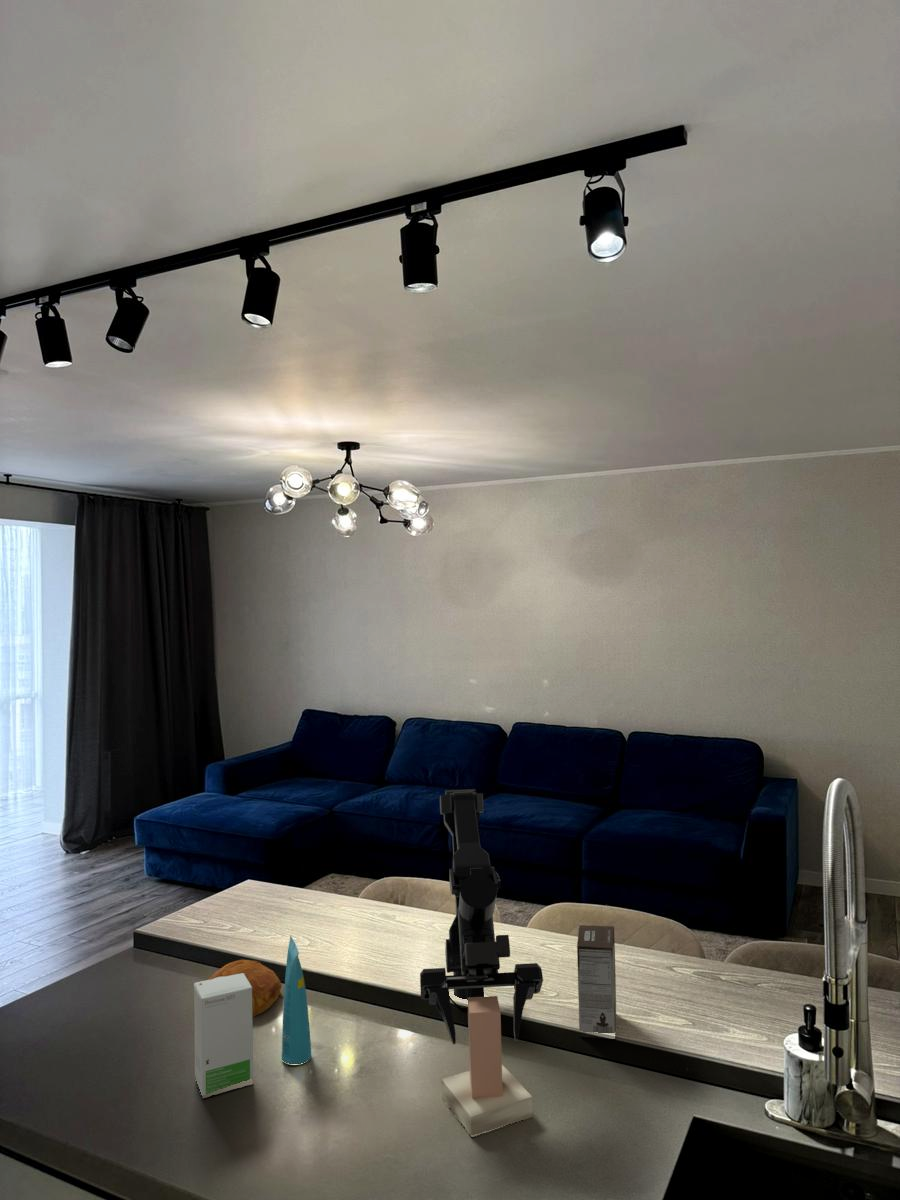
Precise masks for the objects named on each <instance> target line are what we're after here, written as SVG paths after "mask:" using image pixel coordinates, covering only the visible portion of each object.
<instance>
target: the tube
mask: <svg viewBox="0 0 900 1200" xmlns="http://www.w3.org/2000/svg"><path fill="white" fill-rule="evenodd" d="M299 954H300V952H299V949H298V946H297V944H296V942H295V940H294V938H293V936H292V934H290V936H289V943H288V948H287V955H286V956H287V957H286V966H285V967H286V968H285V979H284V989H283V990H284V992H283V993H284V994H283V1007H282V1030H281V1031H282V1032H281V1035H282V1036H281V1037H282V1038H281V1061H282V1060H283V1061H284V1062H286V1063H289V1064H301V1063H304V1062H306V1061H307V1060H309V1059H310V1060H311V1058H312V1043H311V1029H310V1017H309V1008H308V999H307V992H306V991H307V989H306V984H305V977H304V973H303V968H302V965H301V962H300V957H299ZM310 1060H309V1061H310ZM306 1063H307V1062H306Z"/></svg>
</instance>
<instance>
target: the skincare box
mask: <svg viewBox="0 0 900 1200" xmlns="http://www.w3.org/2000/svg"><path fill="white" fill-rule="evenodd" d="M193 995H194V996H193V998H194V1001H193V1004H194V1010H193V1011H194V1078H195V1077H196V1080H195V1082H196V1081H197V1083H196V1085H197V1084H198V1086H199V1089H200V1091H199V1093H200V1092H201V1094H200V1096H201V1095H202V1096H203V1095H206V1094H209V1093H211V1092H214V1091H217V1090H219V1089H223V1088H226V1087H228V1086H231V1085H234V1084H237V1083H240V1082H242V1081H247V1080H249V1079H253V1080H254V1043H253V1042H254V1039H253V1038H254V1037H253V1036H254V1034H253V1031H254V1030H253V1027H254V1025H253V1017H252V987H251V985H250V983H249V981H248V980H247V978H246V976H245V975H244V973H241V974H236V975H231V976H226V977H217V978H214V979H211V980H207V979H206V980H201V981H198V982H197V981H196V982H194V983H193ZM198 1086H197V1087H198ZM199 1089H198V1090H199Z"/></svg>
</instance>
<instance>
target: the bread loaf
mask: <svg viewBox="0 0 900 1200" xmlns="http://www.w3.org/2000/svg"><path fill="white" fill-rule="evenodd" d="M241 973H244V975H245V976H246V978H247V980H248V981H249V983H250V985H251V987H252V1018H254V1017H256V1016H257V1015H259V1014H262V1013H264V1012H265V1011H267V1010H268V1009H270V1008H271V1006H273V1005H274V1003H275V1001H277V999H279V996H280V995H281V989H282V983H281V980H280V979H279V977H278V976H277V974H276V973H275V971H273V970H272V969H270V968H269V967H267V966H266V965H263V964H262V963H261V962H260V961H258V960H250V959H238V960H235V961H232V962H229V963H227V964H225V965H224V966H222V967H221V968H219V969H218V970H217V971H214V973H213V974H212V975H211V976H209V977H208V978H207V979H206V980H211V979H214V978H217V977H226V976H231V975H236V974H241Z"/></svg>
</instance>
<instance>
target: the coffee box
mask: <svg viewBox="0 0 900 1200" xmlns="http://www.w3.org/2000/svg"><path fill="white" fill-rule="evenodd" d="M615 945H616V944H615V926H613V925H611V926H609V925H582V924H580V925H579V926H578V934H577V944H576V947H577V948H576V950H577V951H576V953H577V958H576V959H577V991H578V995H577V996H578V1027H579V1029H578V1030H579V1031H583V1032H598V1033H615V1032H616V1033H617V986H616V985H617V983H616V981H617V980H616V950H615V949H616V946H615Z"/></svg>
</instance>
